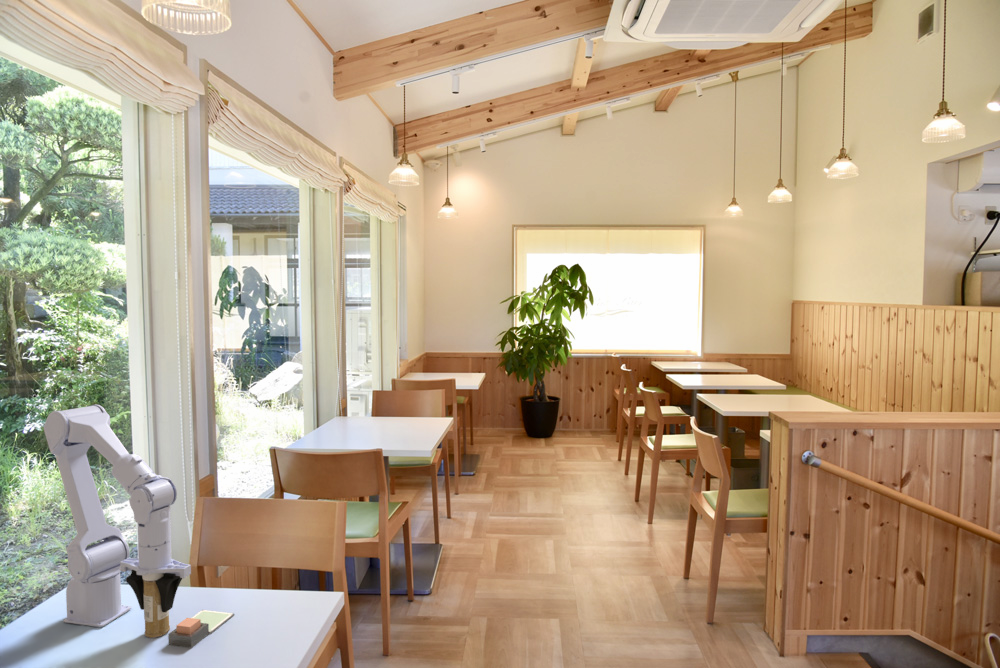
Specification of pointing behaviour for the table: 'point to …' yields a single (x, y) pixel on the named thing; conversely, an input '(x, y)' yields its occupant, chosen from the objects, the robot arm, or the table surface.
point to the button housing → (188, 637)
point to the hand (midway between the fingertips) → (156, 608)
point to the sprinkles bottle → (154, 608)
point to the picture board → (213, 618)
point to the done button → (188, 626)
